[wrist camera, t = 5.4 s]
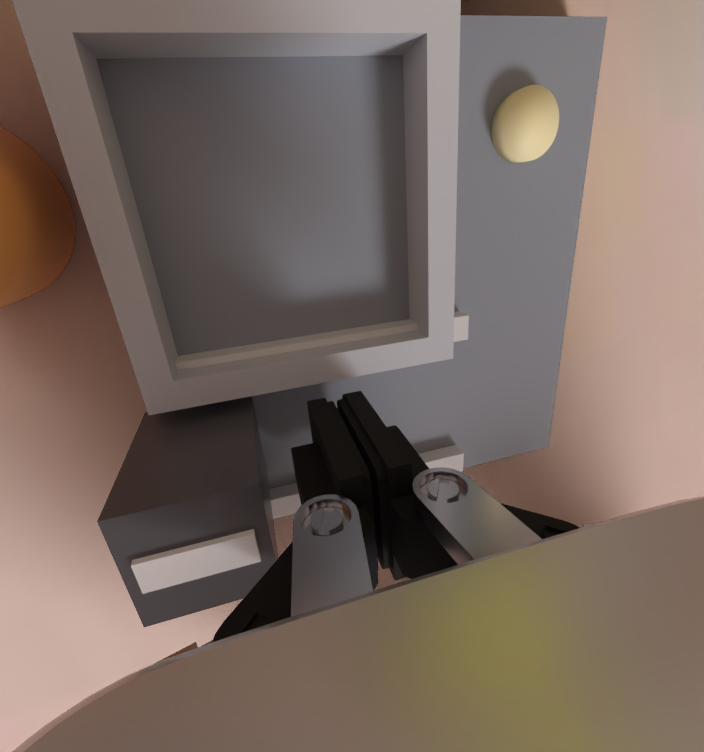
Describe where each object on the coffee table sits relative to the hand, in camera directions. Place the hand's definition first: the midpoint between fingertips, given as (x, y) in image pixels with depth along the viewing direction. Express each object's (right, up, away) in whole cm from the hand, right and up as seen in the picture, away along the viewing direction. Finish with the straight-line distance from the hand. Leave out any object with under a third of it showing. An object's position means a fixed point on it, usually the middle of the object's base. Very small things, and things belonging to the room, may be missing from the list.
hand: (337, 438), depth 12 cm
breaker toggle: (-4, 0, 0) cm, 4 cm away
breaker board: (+1, +5, +1) cm, 5 cm away
